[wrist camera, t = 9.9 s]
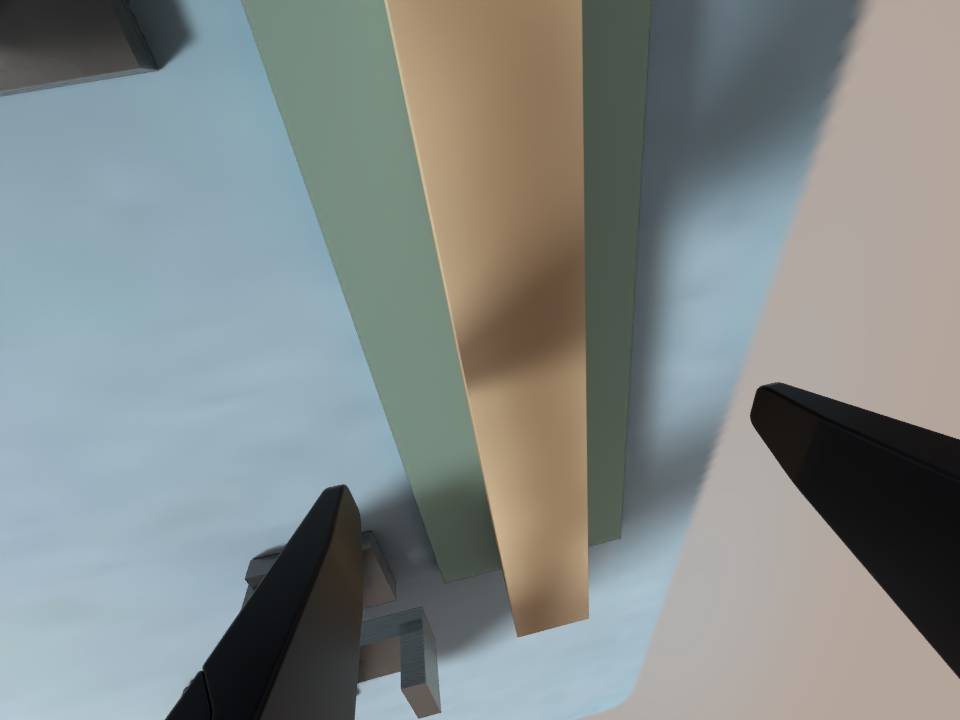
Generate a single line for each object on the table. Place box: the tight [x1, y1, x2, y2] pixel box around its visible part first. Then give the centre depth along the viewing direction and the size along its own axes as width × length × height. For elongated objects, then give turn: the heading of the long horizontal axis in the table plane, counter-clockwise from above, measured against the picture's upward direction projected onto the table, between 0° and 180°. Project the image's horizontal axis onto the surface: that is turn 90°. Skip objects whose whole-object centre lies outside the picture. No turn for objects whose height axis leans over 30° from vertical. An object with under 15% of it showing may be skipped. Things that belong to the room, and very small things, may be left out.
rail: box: [384, 0, 589, 637], centre depth 12 cm, size 3×24×3 cm, turn 8°
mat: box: [241, 0, 651, 583], centre depth 13 cm, size 8×25×1 cm, turn 9°
